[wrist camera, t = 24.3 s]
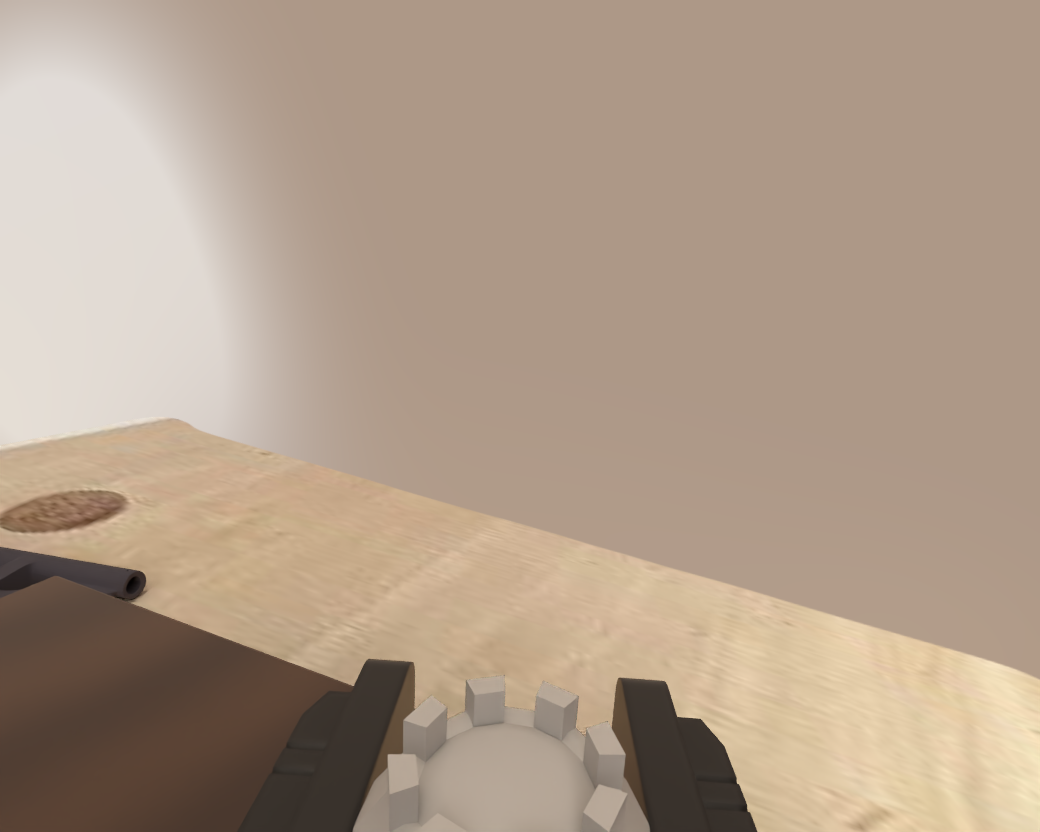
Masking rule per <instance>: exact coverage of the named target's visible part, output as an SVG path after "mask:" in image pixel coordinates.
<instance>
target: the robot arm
mask: <svg viewBox="0 0 1040 832" xmlns="http://www.w3.org/2000/svg"><path fill="white" fill-rule="evenodd" d="M414 699H415V667H414V663H413V662H405V661H391V660H377V659H368V660H367V661H366V662H365V664H364V666H363V668H362V670H361V672H360V674H359V676H358V679H357V681H356V683H355V685H354V687H353V689H352V691H351V692H342V691H328V692H327V693H326V694H325V695H323V696H322V697H321V698H320V699H319V700H318V701H317V702H315V703H314V704H313V705H312V706H311V707H310V708H308V709H307V710H306V711H305V712H304V713H303V714H302V716H301V717H300V719H299V721H298V723H297V725H296V726H295V728H294V730H293V732H292V734H291V735H290V737H289V739H288V741H287V745H286V748H283V750H282V752H281V753H280V755H279V757H278V759H277V761H276V762H275V764H274V766H273V770H272V773H271V774H270V773H269V775H268V777H267V779H266V780H265V782H264V784H263V786H262V788H261V789H260V791H259V793H258V795H257V797H256V798H255V800H254V802H253V804H252V806H251V807H250V809H249V811H248V813H247V814H246V816H245V818H244V820H243V822H242V823H241V825H240V827H239V829H238V831H237V832H352V831H353V827H354V825H355V822H356V820H357V817H358V815H359V813H360V811H361V808H362V806H363V804H364V802H365V800H366V798H367V795H368V793H369V791H370V789H371V787H372V785H373V782H374V780H375V779H376V778H378V777H379V776H380V775H381V774H382V773H383V772H384V771H385V770H386V769H387V768H388V754H402V753H403V720H404V719H405V718H406V717H407V716H408V715H410V714H411V713H412V712H413V711H414ZM612 730H613V732H614V734H615V736H616V737H617V739H618V741H619V743H620V745H621V747H622V749H623V750H624V752H625V754H626V756H625V765H624V774H623V777H624V778H625V779H626V780H627V782H628V784H629V786H630V788H631V790H632V792H633V794H634V796H635V798H636V800H637V802H638V803H639V805H640V807H641V809H642V811H643V813H644V815H645V817H646V819H647V821H648V823H649V827H650V832H757V830H756V827H755V824H754V822H753V819H752V817H751V814H750V812H748V811H747V804H746V801H745V799H744V796H743V793H742V791H741V788H740V786H739V784H737V781H736V775H735V773H734V770H733V768H732V765H731V762H730V760H729V757H728V755H727V752H726V749H725V747H724V745H723V744H722V743H721V742H720V741H719V740H718V738H717V737H716V736H715V735H714V734H713V733H712V732H711V730H710V729H709V728H708V727H707V726H706V725H705V723H704V722H703V721H702V720H701V719H695V718H681V717H677V715H676V712H675V709H674V705H673V702H672V699H671V695H670V692H669V689H668V686H667V684H666V682H665V681H657V680H644V679H630V678H618V681H617V685H616V693H615V702H614V711H613V721H612Z"/></svg>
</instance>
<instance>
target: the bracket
mask: <svg viewBox="0 0 1040 832" xmlns="http://www.w3.org/2000/svg"><path fill="white" fill-rule="evenodd" d="M53 576H59V577H61V578H64V579H67V580H69V581H72V582H75V583H77V584H80V585H83V586H86V587H88V588H91V589H94V590H96V591H99V592H102V593H104V594H107V595H110V596H112V597H114V596H116V597H122V598H127V599H133V598H135V597H137V596H138V595H139V594H140V593H141V592H142V591H143V589H144V587H145V583H146V577H145V575H144V573H143V572H140V571H137V570H131V569H125V568H119V567H113V566H108V565H102V564H96V563H90V562H85V561H79V560H73V559H67V558H61V557H56V556H50V555H44V554H38V553H32V552H27V551H21V550H15V549H9V548H4V547H0V598H2V597H4V596H7V595H9V594H12V593H14V592H17V591H19V590H22V589H24V588H26V587H29V586H31V585H34V584H36V583H39V582H41V581H44V580H46V579H48V578H51V577H53Z"/></svg>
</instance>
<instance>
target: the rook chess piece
mask: <svg viewBox="0 0 1040 832" xmlns="http://www.w3.org/2000/svg"><path fill="white" fill-rule="evenodd" d="M578 698H579V696H577V695H575V694H573V693H571V692H568V691H566V690H564V689H561V688H559V687H557V686H554V685H552V684H550V683H548V682H545V681H543V682H542V684H541V686H540V688H539V690H538V693H537V695H536V705H535V711H533V710H526V709H519V708H513V707H506V706H505V675H502V676H493V677H485V678H477V679H469V680H466V698H465V711H464V712H462V713H460V714H458V715H456V716H454V717H452V718H449V719H447V707H446V706H445V705H444V704H442V703H441V702H440V701H438V700H437V699H436V698H435V697H433V696H432V695H431V696H429V697H428V698H427V699H426V700H425V701H424V702H423V703H422V704H421V705H420V706H418V707H417V708H416V709H415V710H414V711H413V712H412V713H411V714H410V715H408V716H407V717H406V718H405V719H404V720H403V753H402V754H388V768H387V769H386V770H385V771H384V772H383V773H382V774H381V775H380V776H379V777H378V778H376V779H375V780H374V782H373V785H372V787H371V789H370V791H369V793H368V795H367V798H366V800H365V802H364V804H363V806H362V808H361V811H360V813H359V815H358V817H357V820H356V822H355V825H354V827H353V831H352V832H650V827H649V823H648V821H647V819H646V817H645V815H644V813H643V811H642V809H641V807H640V805H639V803H638V802H637V800H636V798H635V796H634V794H633V792H632V790H631V788H630V786H629V784H628V782H627V780H626V779H625V778H624V777H623V774H624V765H625V756H626V754H625V752H624V750H623V749H622V747H621V745H620V743H619V741H618V739H617V737H616V736H615V734H614V732H613V730H612V728H611V726H610V724H609V723H608V721H606V722H604V723H601V724H598V725H595V726H592V727H589V728H586V737H585V736H584V735H583V734H582V733H581V732H580V731H578V730H577V729H576V720H577V709H578Z"/></svg>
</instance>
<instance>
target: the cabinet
mask: <svg viewBox="0 0 1040 832" xmlns="http://www.w3.org/2000/svg"><path fill="white" fill-rule="evenodd" d="M353 687H354V686H351V685H349V684H346V683H343V682H341V681H338V680H335V679H333V678H330V677H327V676H325V675H322V674H319V673H316V672H314V671H311V670H308V669H306V668H303V667H300V666H298V665H295V664H292V663H290V662H287V661H284V660H282V659H279V658H276V657H274V656H271V655H268V654H265V653H263V652H260V651H257V650H255V649H252V648H249V647H247V646H244V645H241V644H239V643H236V642H233V641H231V640H228V639H225V638H223V637H220V636H217V635H214V634H212V633H209V632H206V631H204V630H201V629H198V628H196V627H193V626H190V625H188V624H185V623H182V622H180V621H177V620H174V619H171V618H169V617H166V616H163V615H161V614H158V613H155V612H153V611H150V610H147V609H145V608H142V607H139V606H137V605H134V604H131V603H129V602H126V601H123V600H120V599H118V598H115V597H112V596H110V595H107V594H104V593H102V592H99V591H96V590H94V589H91V588H88V587H86V586H83V585H80V584H77V583H75V582H72V581H69V580H67V579H64V578H61V577H59V576H53V577H51V578H48V579H46V580H44V581H41V582H39V583H36V584H34V585H31V586H29V587H26V588H24V589H22V590H19V591H17V592H14V593H12V594H9V595H7V596H4V597H2V598H0V832H237V831H238V829H239V827H240V825H241V823H242V822H243V820H244V818H245V816H246V814H247V813H248V811H249V809H250V807H251V806H252V804H253V802H254V800H255V798H256V797H257V795H258V793H259V791H260V789H261V788H262V786H263V784H264V782H265V780H266V779H267V777H268V775H269V773H270V774H271V773H272V770H273V766H274V764H275V762H276V761H277V759H278V757H279V755H280V753H281V752H282V750H283V748H286V745H287V741H288V739H289V737H290V735H291V734H292V732H293V730H294V728H295V726H296V725H297V723H298V721H299V719H300V717H301V716H302V714H303V713H304V712H305V711H306V710H307V709H308V708H310V707H311V706H312V705H313V704H314V703H315V702H317V701H318V700H319V699H320V698H321V697H322V696H323V695H325V694H326V693H327V692H328V691H342V692H351V691H352V689H353ZM414 710H415V709H414Z"/></svg>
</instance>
